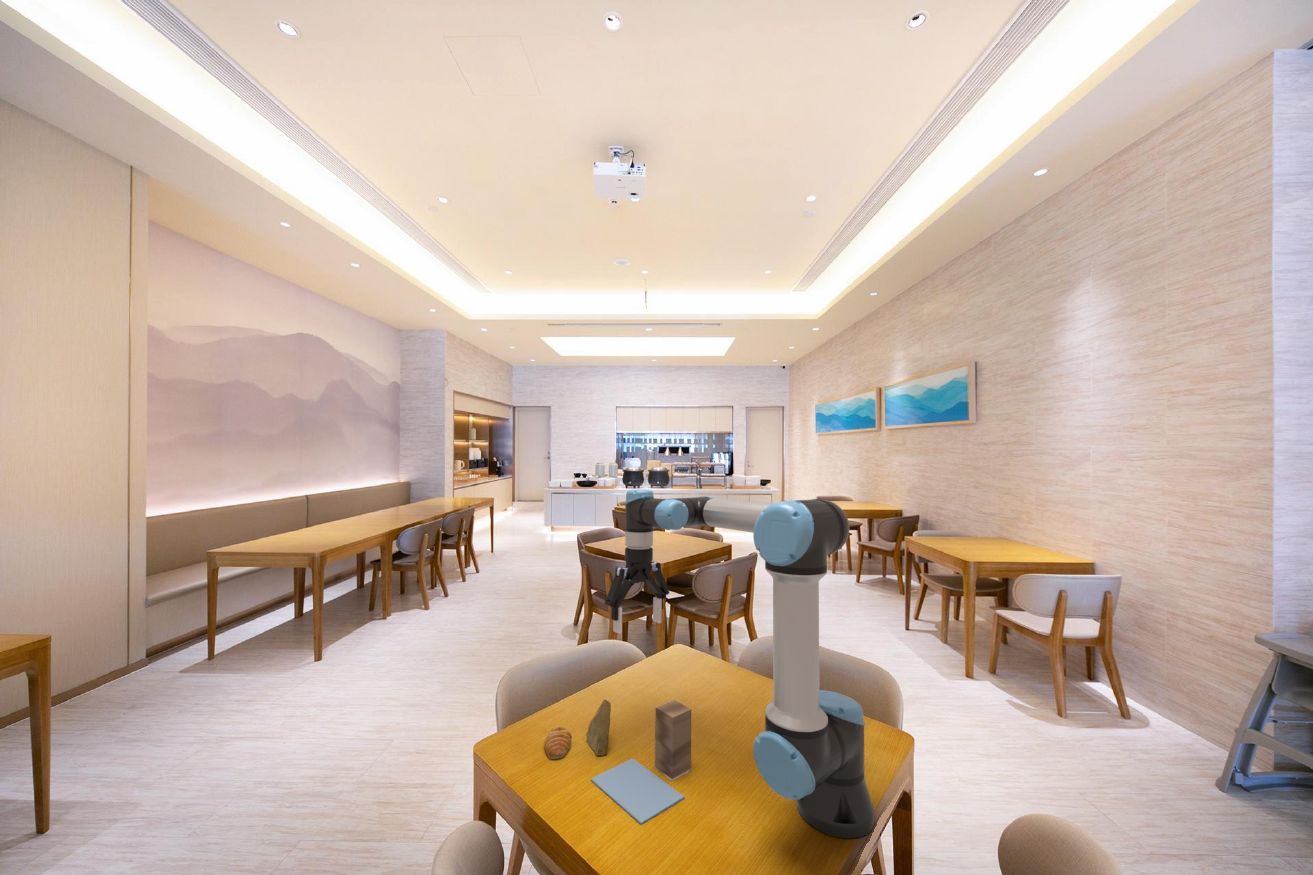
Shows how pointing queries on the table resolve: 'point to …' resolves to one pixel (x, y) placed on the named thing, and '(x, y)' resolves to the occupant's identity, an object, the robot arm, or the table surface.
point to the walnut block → (673, 739)
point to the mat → (637, 790)
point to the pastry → (558, 742)
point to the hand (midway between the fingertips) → (638, 627)
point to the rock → (600, 729)
